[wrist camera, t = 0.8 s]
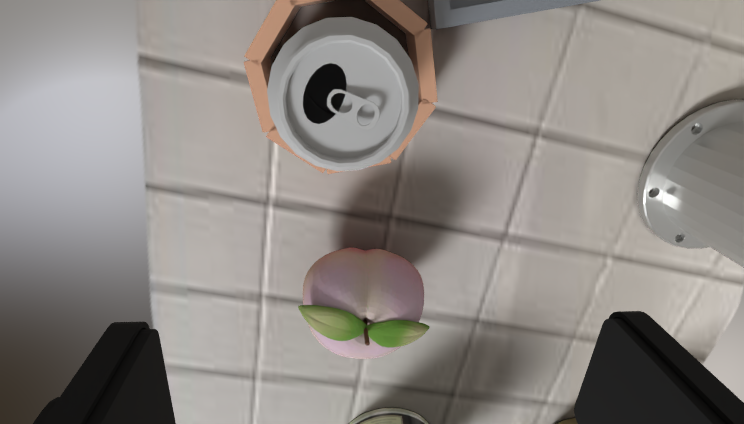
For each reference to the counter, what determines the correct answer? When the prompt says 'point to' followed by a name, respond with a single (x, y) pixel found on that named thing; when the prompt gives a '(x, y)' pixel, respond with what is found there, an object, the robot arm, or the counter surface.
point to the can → (343, 94)
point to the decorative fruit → (363, 302)
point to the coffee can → (389, 417)
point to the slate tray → (486, 10)
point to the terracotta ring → (290, 3)
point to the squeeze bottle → (569, 421)
